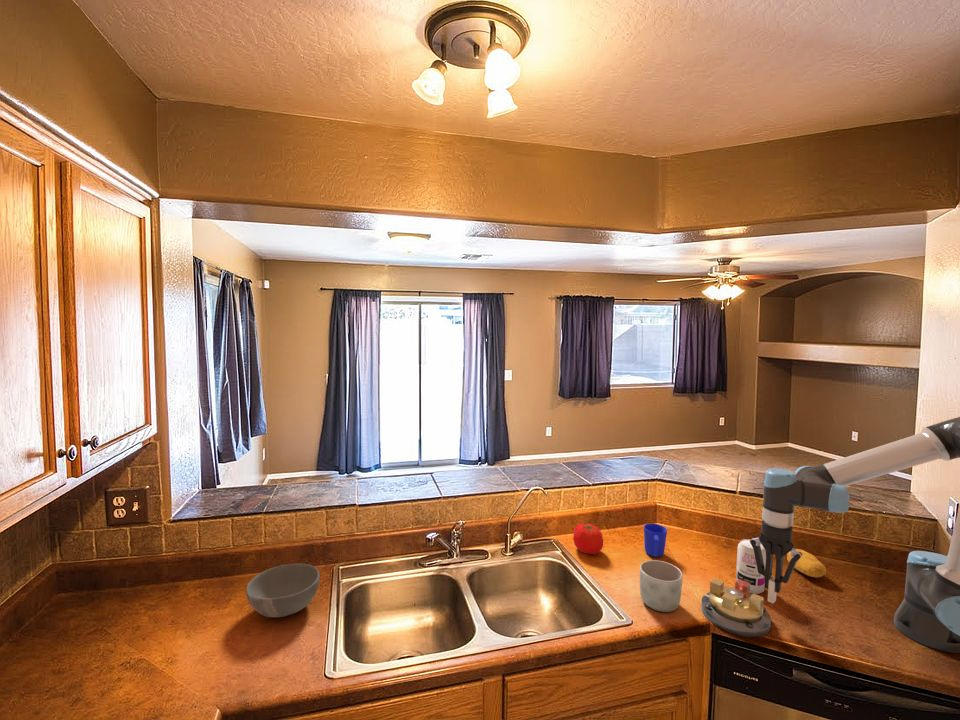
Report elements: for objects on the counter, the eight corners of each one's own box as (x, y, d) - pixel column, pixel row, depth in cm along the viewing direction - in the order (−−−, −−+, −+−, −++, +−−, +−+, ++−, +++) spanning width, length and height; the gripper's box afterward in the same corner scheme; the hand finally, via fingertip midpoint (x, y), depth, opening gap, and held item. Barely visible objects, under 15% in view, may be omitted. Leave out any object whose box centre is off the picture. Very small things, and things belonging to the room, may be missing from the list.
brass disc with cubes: (769, 608, 135) (770, 590, 135) (753, 630, 126) (755, 610, 125) (719, 588, 146) (720, 571, 145) (701, 606, 136) (702, 588, 136)
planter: (687, 604, 141) (689, 571, 141) (670, 622, 133) (671, 586, 132) (650, 587, 150) (651, 555, 150) (631, 602, 142) (632, 569, 141)
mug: (643, 562, 166) (645, 535, 166) (642, 546, 178) (643, 522, 177) (668, 565, 164) (669, 539, 163) (664, 550, 176) (665, 525, 175)
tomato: (584, 540, 182) (585, 516, 182) (610, 554, 172) (611, 528, 171) (564, 548, 176) (565, 522, 175) (589, 562, 166) (590, 535, 165)
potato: (801, 562, 167) (802, 544, 167) (831, 584, 154) (832, 564, 153) (780, 562, 167) (782, 544, 167) (808, 584, 154) (810, 564, 153)
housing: (778, 617, 135) (780, 593, 135) (759, 646, 123) (760, 620, 123) (714, 591, 149) (715, 569, 148) (691, 614, 136) (692, 590, 136)
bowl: (333, 596, 143) (333, 566, 143) (289, 639, 124) (288, 604, 123) (280, 585, 149) (279, 556, 148) (230, 624, 130) (229, 591, 129)
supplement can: (756, 581, 155) (759, 539, 153) (769, 595, 146) (772, 551, 145) (731, 579, 155) (733, 537, 154) (742, 594, 147) (745, 549, 146)
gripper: (807, 526, 129) (801, 605, 131) (756, 512, 139) (751, 586, 141) (800, 534, 124) (794, 616, 126) (747, 519, 134) (742, 595, 136)
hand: (771, 600), depth 133 cm, fingers closed
